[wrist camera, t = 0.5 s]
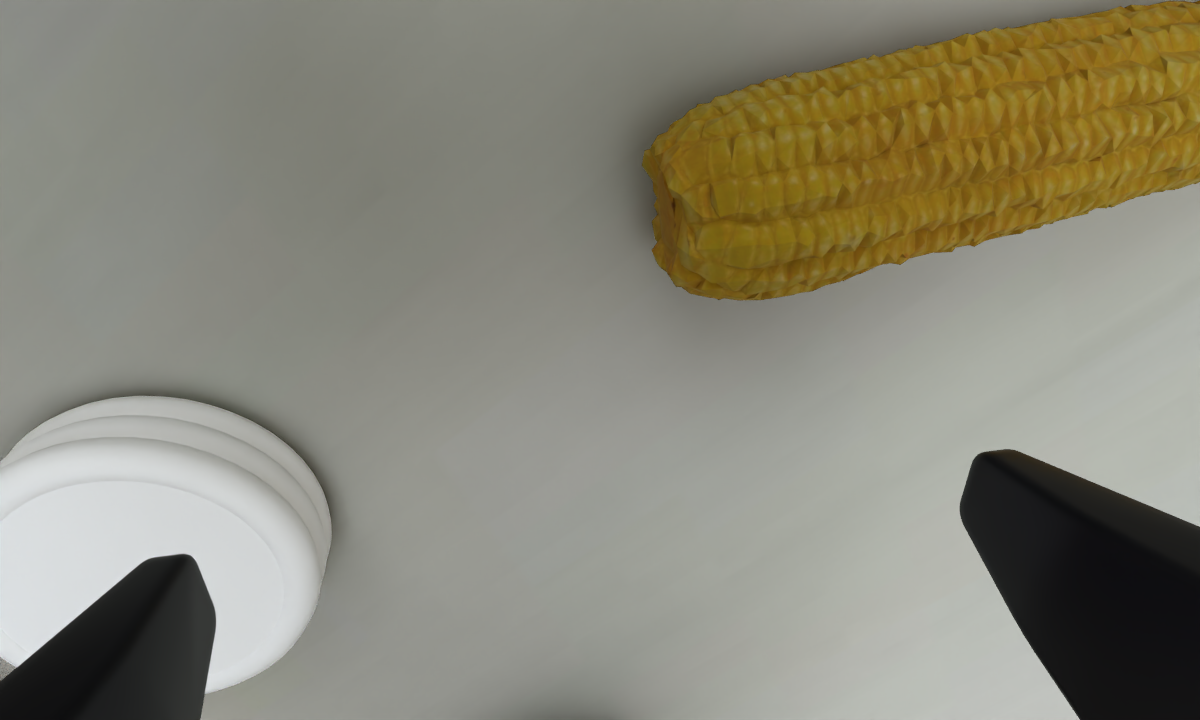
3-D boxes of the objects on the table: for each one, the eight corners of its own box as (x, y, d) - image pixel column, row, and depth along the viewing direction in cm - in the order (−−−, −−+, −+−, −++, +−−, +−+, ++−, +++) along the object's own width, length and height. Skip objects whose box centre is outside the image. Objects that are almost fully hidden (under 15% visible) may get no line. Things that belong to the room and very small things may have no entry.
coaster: (-38, 573, 24) (-111, 661, 21) (60, 334, 21) (-8, 396, 18) (264, 654, 28) (240, 739, 25) (384, 463, 25) (374, 532, 22)
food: (646, 276, 23) (700, 363, 18) (614, 94, 20) (667, 136, 15) (1250, 123, 24) (1465, 164, 19) (1297, -68, 22) (1561, -81, 16)
